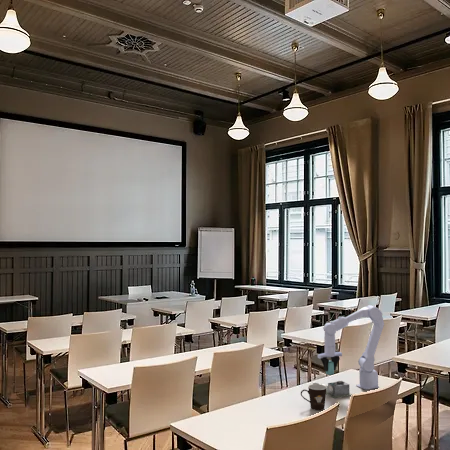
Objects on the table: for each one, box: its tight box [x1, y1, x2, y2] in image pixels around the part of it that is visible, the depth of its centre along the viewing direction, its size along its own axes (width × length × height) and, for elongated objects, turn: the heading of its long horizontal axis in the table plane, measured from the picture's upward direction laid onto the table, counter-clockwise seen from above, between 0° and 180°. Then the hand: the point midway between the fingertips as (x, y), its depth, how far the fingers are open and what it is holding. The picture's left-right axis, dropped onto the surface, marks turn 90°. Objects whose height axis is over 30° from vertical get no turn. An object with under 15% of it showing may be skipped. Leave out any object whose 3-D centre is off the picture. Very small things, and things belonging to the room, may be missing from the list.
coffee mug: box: [300, 383, 327, 411], centre depth 230 cm, size 12×9×10 cm
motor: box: [320, 380, 353, 399], centre depth 252 cm, size 11×15×6 cm
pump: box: [325, 359, 335, 376], centre depth 262 cm, size 4×4×7 cm
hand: (330, 370), depth 261 cm, fingers closed on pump, 4 cm apart
